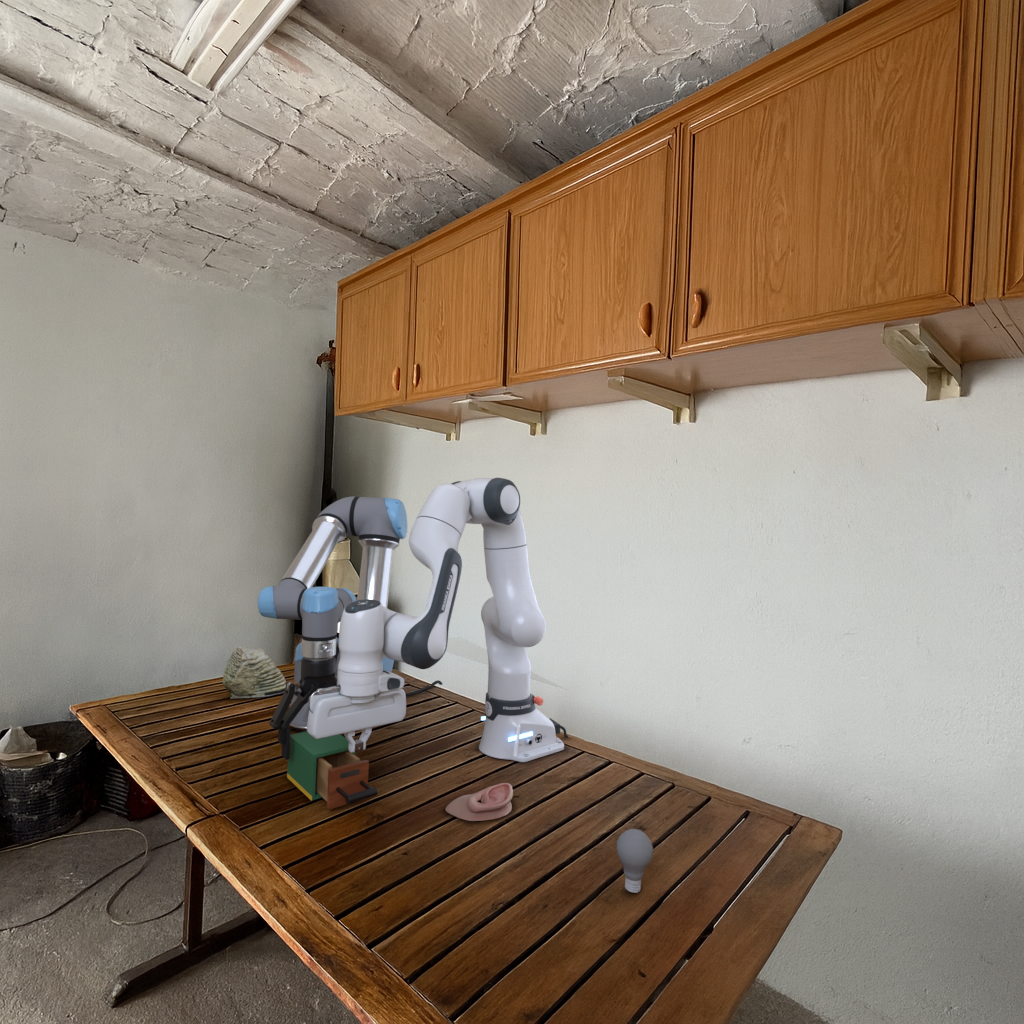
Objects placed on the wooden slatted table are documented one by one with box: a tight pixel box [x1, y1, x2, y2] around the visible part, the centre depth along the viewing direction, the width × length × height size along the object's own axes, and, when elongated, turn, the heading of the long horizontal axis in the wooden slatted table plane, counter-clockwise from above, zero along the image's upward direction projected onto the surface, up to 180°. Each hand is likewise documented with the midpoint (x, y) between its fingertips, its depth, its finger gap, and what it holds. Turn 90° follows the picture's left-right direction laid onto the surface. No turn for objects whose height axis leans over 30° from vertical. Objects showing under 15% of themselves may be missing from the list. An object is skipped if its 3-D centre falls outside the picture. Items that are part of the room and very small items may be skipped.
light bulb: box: [615, 828, 654, 894], centre depth 106 cm, size 6×6×10 cm
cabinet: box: [286, 731, 356, 802], centre depth 140 cm, size 14×10×10 cm
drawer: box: [315, 751, 379, 810], centre depth 132 cm, size 18×8×8 cm, turn 41°
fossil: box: [222, 646, 287, 699], centre depth 198 cm, size 9×18×15 cm, turn 132°
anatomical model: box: [444, 782, 514, 822], centre depth 131 cm, size 13×4×12 cm
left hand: (315, 750), depth 143 cm, fingers open, 13 cm apart
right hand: (356, 750), depth 127 cm, fingers closed
